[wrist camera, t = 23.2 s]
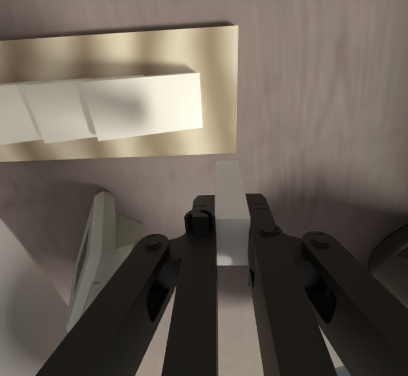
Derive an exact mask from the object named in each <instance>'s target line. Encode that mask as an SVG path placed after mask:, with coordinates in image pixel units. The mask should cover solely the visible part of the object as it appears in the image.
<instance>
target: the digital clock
mask: <svg viewBox="0 0 408 376" xmlns="http://www.w3.org/2000/svg"><path fill="white" fill-rule="evenodd" d="M141 227H142V223H140V222H138V221H135V220H132V219H130V218H127V217H124V216H122V215H119V214H116V213H115V198H114V197H113V196H112V195H111V194H110V193H109V192H106V191H102V192H100V193H98V194H97V195H95V197H94V200H93V203H92V207H91V211H90V214H89V218H88V221H87V225H86V228H85V232H84V235H83V239H82V243H81V246H80V250H79V253H78V257H77V261H76V264H75V269H74V276H73V283H72V290H71V298H70V303H69V310H68V318H67V327H66V330H67V331H68V332H70V330H71V329H72V328H73V326H74V325H75V324H76V323H77V321H78V320H79V319H80V317H81V316H82V315H83V313H84V312H85V311H86V310H87V308H88V307H89V306H90V304H91V303H92V302H93V301H94V299H95V298H96V297H97V295H98V294H99V293H100V291H101V290H102V289H103V288H104V286H105V285H106V284H107V282H108V281H109V280H110V279H111V277H112V276H113V275H114V273H115V272H116V271H117V269H118V268H119V267H120V266H121V264H122V263H123V262H124V260H125V259H126V258H127V257H128V255H129V254H130V253H131V251H132V248H133V246H134V244H135V242H136V239H137V237H138V234H139V232H140V229H141Z"/></svg>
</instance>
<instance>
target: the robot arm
mask: <svg viewBox="0 0 408 376" xmlns="http://www.w3.org/2000/svg"><path fill="white" fill-rule="evenodd" d="M184 220H185V229H186V234H184V235H183V236H181V237H179V238H176V239H172V240H168V238H167V237H166V236H164V235H161V234H152V235H148V236H146V237H144V238H142V239H141V240H140V241H139V242H138V244H137V245H136V246H135V247H134V249H133V250H132V251H131V253H130V254H129V255H128V257H127V258H126V259H125V260H124V262H123V263H122V264H121V266H120V267H119V268H118V269H117V271H116V272H115V273H114V275H113V276H112V277H111V279H110V280H109V281H108V282H107V284H106V285H105V286H104V288H103V289H102V290H101V291H100V293H99V294H98V295H97V297H96V298H95V299H94V301H93V302H92V303H91V304H90V306H89V307H88V308H87V310H86V311H85V312H84V313H83V315H82V316H81V317H80V319H79V320H78V321H77V323H76V324H75V325H74V326H73V328H72V329H71V330H70V332H69V333H68V334H67V336H66V337H65V338H64V339H63V341H62V342H61V343H60V345H59V346H58V347H57V349H56V350H55V351H54V352H53V354H52V355H51V356H50V358H49V359H48V360H47V361H46V363H45V364H44V365H43V367H42V368H41V369H40V370H39V372H38V373H37V374H36V376H135V374H136V372H137V370H138V368H139V366H140V364H141V361H142V359H143V357H144V355H145V353H146V351H147V348H148V346H149V344H150V342H151V340H152V338H153V335H154V333H155V331H156V329H157V327H158V325H159V322H160V320H161V318H162V316H163V314H164V312H165V309H166V307H167V305H168V303H169V301H170V299H171V296H172V294H173V292H174V290H175V287H176V286H177V288H176V293H175V299H174V305H173V311H172V317H171V323H170V329H169V334H168V340H167V346H166V352H165V358H164V364H163V370H162V375H161V376H218V294H217V265H248V260H249V283H248V286H251V291H252V298H253V305H254V312H255V318H256V325H257V332H258V338H259V345H260V352H261V358H262V365H263V372H264V376H408V226H406V227H404V228H402V229H400V230H399V231H397V232H395V233H394V234H392V235H391V236H389V237H388V238H387V239H386V240H385V241H383V242H382V243H381V244H380V245H379V246H378V248H377V249H376V250H375V252H374V253H373V255H372V257H371V259H370V262H369V271H368V270H367V269H366V268H365V267H364V266H363V265H362V264H361V263H360V262H359V261H358V260H356V259H355V258H354V257H353V256H352V255H351V254H350V253H349V252H348V251H347V250H346V249H345V248H344V247H343V246H342V245H341V244H340V243H339V242H338V241H337V240H336V239H334V238H333V237H332V236H330V235H328V234H326V233H323V232H317V231H315V232H308V233H306V234H305V235H304V236H303V239H301V238H296V237H292V236H288V235H286V234H284V233H283V231H282V230H281V228H280V227H278V226H277V225H275V222H274V219H273V217H272V214H271V211H270V209H269V205H268V203H267V200H266V198H265V197H264V196H263V195H262V194H245V191H244V186H243V181H242V177H241V172H240V168H239V163H238V160H223V161H215V195H200V196H197V197H196V198H195V199H194V202H193V208H192V210H191V211H189V212H188V213H186V215H185V217H184ZM319 326H320V328H321V330H322V331H323V333H324V334H325V336H326V337H327V339H328V341H329V342H330V344H331V345H332V347H333V348H334V350H335V352H336V353H337V355H338V356H339V358H340V359H341V361H342V363H343V364H344V366H341V367H338V368H335V367H334V365H333V362H332V360H331V357H330V354H329V352H328V349H327V346H326V344H325V341H324V339H323V336H322V333H321V331H320V328H319Z"/></svg>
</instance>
